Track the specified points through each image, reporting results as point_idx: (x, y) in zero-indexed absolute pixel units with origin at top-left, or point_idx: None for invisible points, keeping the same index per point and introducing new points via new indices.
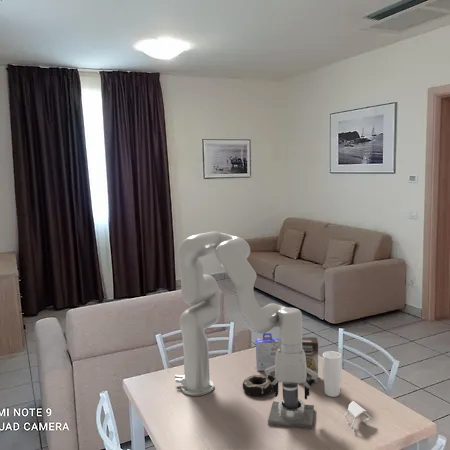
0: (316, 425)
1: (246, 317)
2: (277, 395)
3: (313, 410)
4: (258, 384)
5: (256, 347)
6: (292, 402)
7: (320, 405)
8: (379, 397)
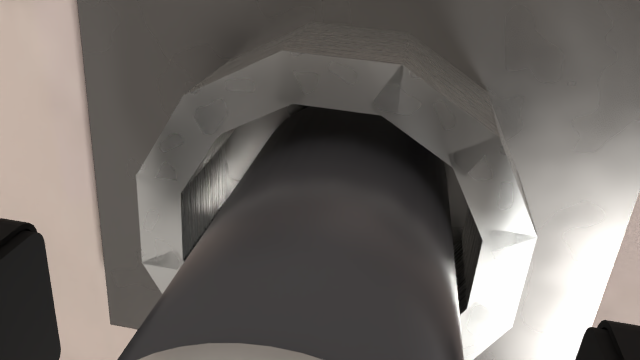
0: (69, 14)
1: None
2: (583, 349)
3: (107, 246)
4: None
5: None
6: (280, 186)
7: (85, 354)
8: None
